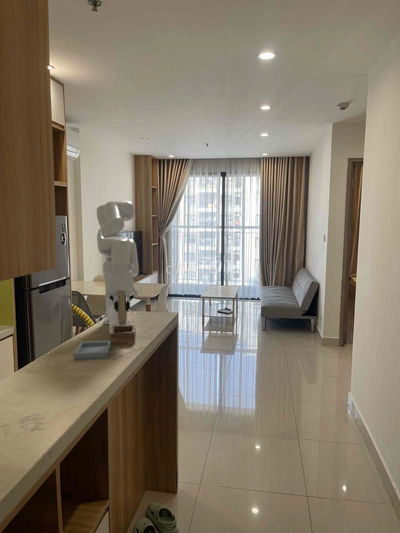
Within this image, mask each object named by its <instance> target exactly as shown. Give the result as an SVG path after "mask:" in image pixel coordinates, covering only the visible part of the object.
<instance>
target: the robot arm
mask: <svg viewBox="0 0 400 533" xmlns="http://www.w3.org/2000/svg"><path fill="white" fill-rule="evenodd" d="M135 212H136V211H135V207H134V204H133V203H132V202H131V201H129V200H124V201H122V200H111V201H108V202H105V204H101V205H99V206H97V208H96V219H97V222H98V225H99V229H98V231H97V235H96V240H97V241H96V242H97V248H98V249H97V250H98V252H99V253H100V254H101V255H104V256H105V257H107V258H108V259H107V260H106V261H104V262H103V264H102V272H103V277H104V278H103V279H104V287H105V295H104V296H105V309H106V311H105V312H106V318H104V320H103V324H105V325H109V306H112V305H114V309H116V312H117V311H118V295H116V292H123V291H125V295H126V311H127V312H129V311H128V310H130V309H131V301H132V300H133V299H134V298H135V297H137V296H138V295H139V293H138V291H137V289H136V288H135V284H134V278H136V277H137V276H138V275H139V273H140V272H139V271H140V270H139V260H138V250H137V244H136V242H135V240H133V239H131V238H129V237H126V236H121V231H123V229H124V227H125V222H129V221H131V220H133V218H134V217H135V215H136V214H135ZM129 322H130V318H129V317H128V316H127V323H129Z"/></svg>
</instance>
